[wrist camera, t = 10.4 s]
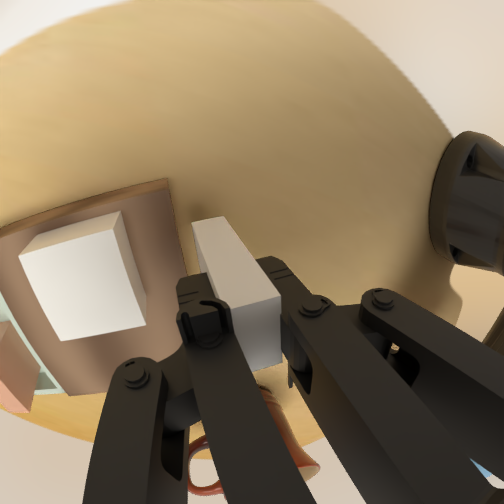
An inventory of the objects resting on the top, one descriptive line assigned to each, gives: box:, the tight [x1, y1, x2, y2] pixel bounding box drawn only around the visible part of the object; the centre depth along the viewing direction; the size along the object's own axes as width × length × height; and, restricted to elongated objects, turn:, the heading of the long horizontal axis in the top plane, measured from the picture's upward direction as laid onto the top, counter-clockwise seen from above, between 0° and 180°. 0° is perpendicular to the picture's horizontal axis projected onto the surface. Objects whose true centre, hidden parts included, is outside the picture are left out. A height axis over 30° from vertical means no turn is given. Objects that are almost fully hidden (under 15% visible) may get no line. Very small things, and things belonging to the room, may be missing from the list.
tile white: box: [18, 211, 146, 341], centre depth 12 cm, size 5×5×2 cm
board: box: [0, 178, 187, 396], centre depth 16 cm, size 12×13×3 cm
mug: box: [188, 389, 320, 499], centre depth 22 cm, size 12×9×10 cm
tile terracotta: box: [0, 320, 41, 413], centre depth 13 cm, size 5×5×2 cm
